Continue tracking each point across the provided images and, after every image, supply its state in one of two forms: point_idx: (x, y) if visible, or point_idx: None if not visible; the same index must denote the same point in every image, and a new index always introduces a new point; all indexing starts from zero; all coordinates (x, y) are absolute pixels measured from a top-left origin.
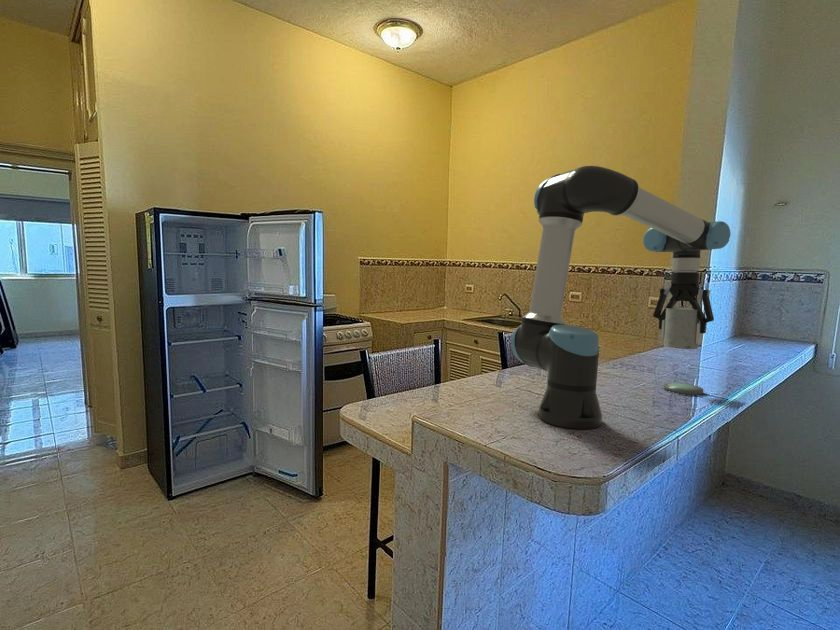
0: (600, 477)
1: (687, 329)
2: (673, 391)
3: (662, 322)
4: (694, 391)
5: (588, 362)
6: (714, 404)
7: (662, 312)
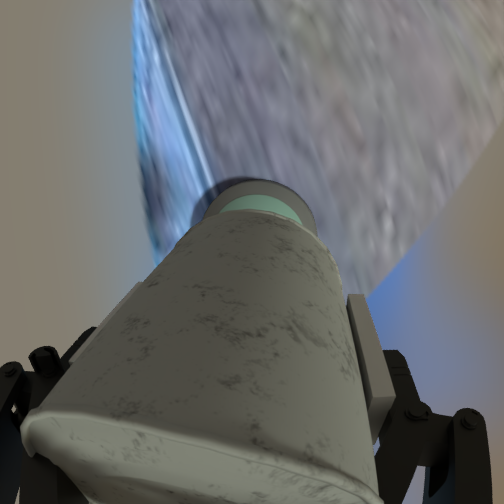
0: None
1: (140, 286)
2: (268, 181)
3: (387, 381)
4: (210, 204)
5: None
6: (142, 146)
7: (413, 464)
